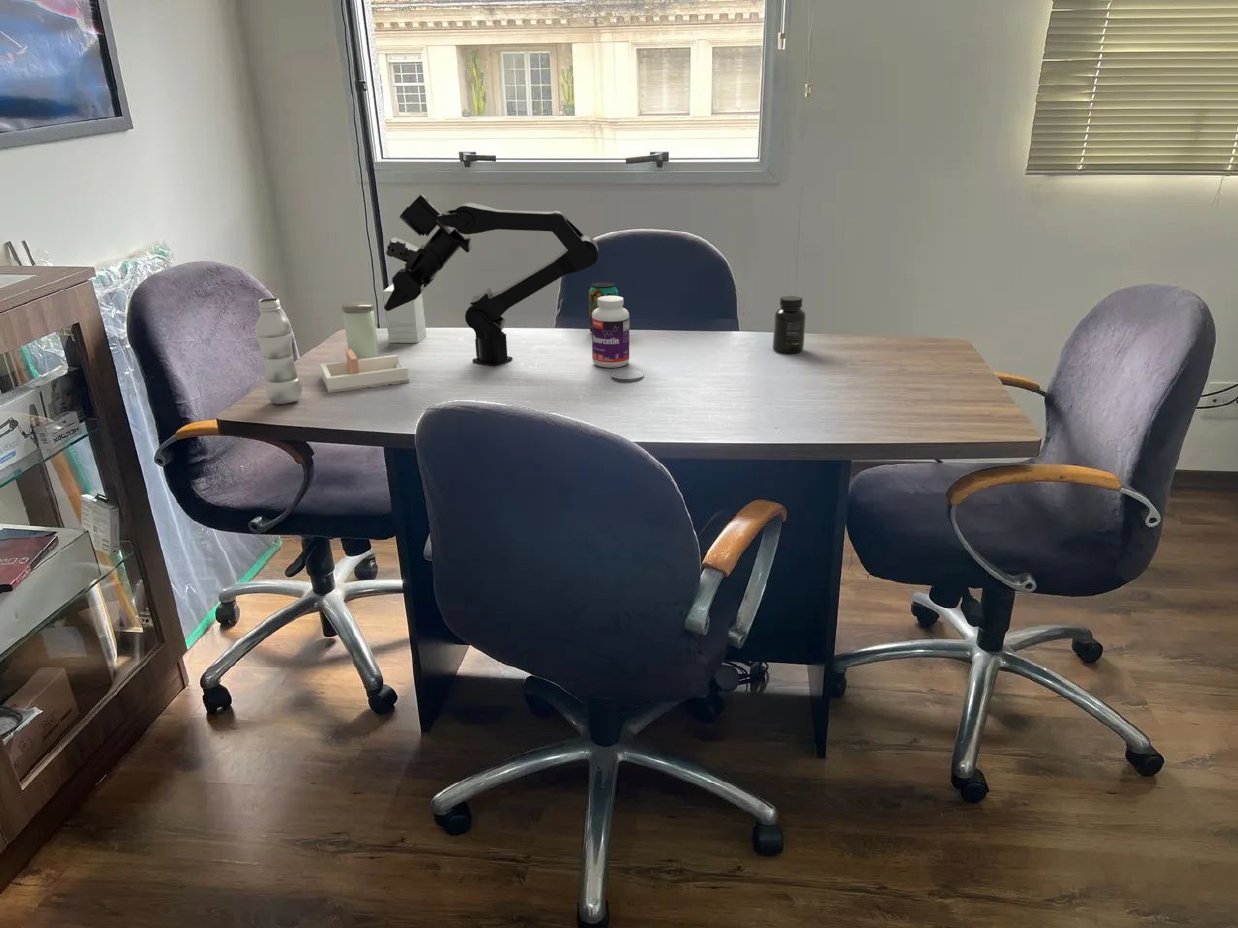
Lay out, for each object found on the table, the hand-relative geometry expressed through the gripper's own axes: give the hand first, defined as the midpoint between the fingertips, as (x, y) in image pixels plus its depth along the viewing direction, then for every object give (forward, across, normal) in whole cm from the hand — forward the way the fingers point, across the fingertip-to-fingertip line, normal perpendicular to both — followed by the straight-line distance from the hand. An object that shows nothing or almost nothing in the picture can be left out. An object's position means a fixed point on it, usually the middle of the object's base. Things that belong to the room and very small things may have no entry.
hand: (390, 304), depth 191 cm
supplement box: (+10, -20, +8) cm, 24 cm away
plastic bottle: (+21, +26, -2) cm, 33 cm away
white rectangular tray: (+12, +12, +6) cm, 18 cm away
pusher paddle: (+13, +13, +4) cm, 19 cm away
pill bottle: (-24, +3, +43) cm, 49 cm away
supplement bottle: (-53, -5, +71) cm, 89 cm away
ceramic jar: (+14, 0, +4) cm, 15 cm away
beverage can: (-23, -23, +42) cm, 53 cm away
